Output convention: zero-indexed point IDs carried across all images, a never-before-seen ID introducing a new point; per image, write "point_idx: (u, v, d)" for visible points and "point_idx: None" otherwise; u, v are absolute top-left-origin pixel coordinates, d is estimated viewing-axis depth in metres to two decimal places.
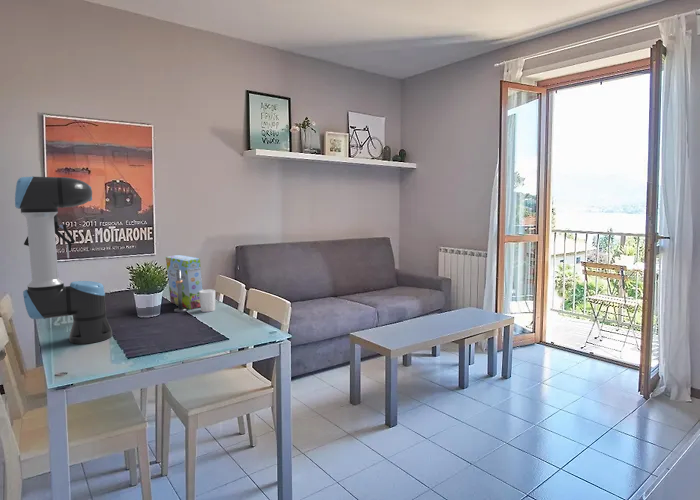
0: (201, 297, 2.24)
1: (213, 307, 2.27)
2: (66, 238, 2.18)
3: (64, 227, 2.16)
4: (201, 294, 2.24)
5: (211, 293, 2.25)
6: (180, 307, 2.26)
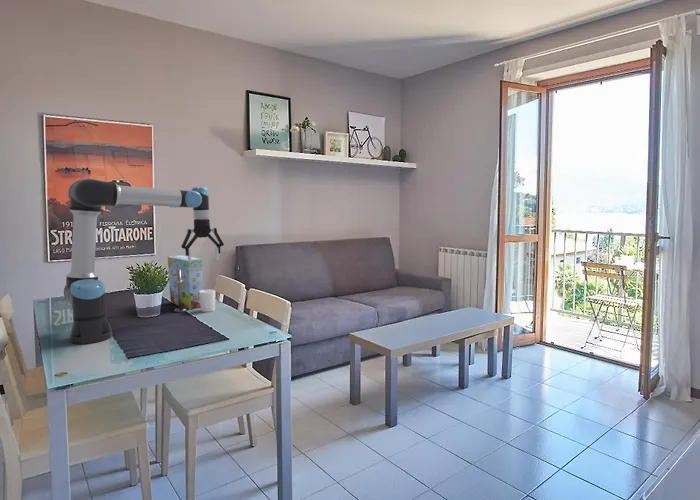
0: (201, 297, 2.24)
1: (213, 307, 2.27)
2: None
3: (215, 231, 2.26)
4: (201, 294, 2.24)
5: (211, 293, 2.25)
6: (180, 307, 2.26)
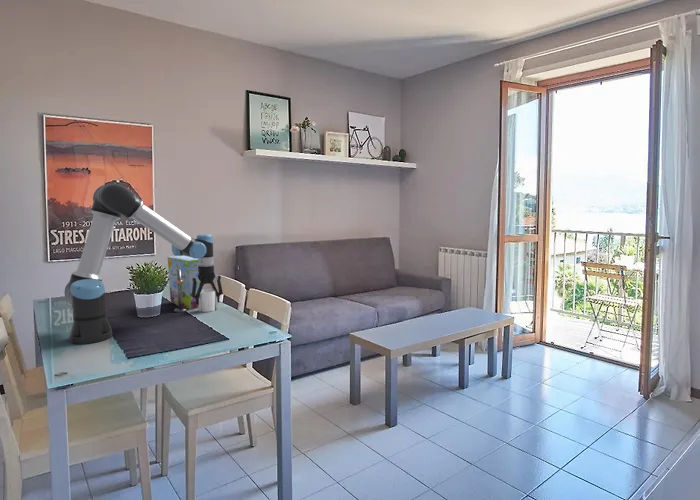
0: (201, 297, 2.24)
1: (213, 307, 2.27)
2: None
3: (219, 278, 2.29)
4: (201, 294, 2.24)
5: (211, 293, 2.25)
6: (180, 307, 2.26)
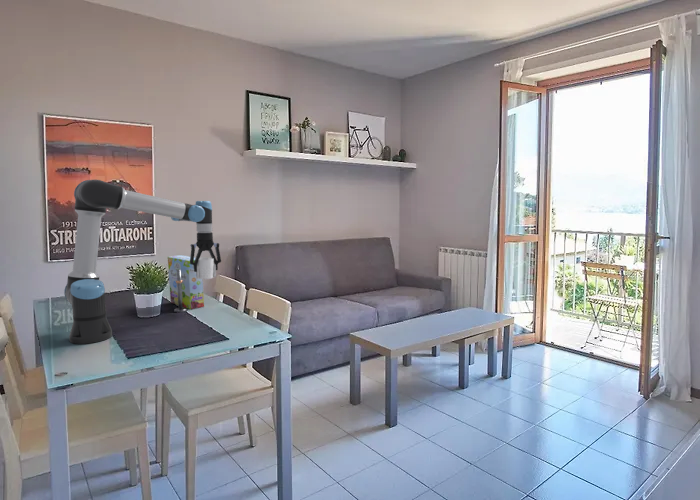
0: (199, 264, 2.22)
1: (211, 275, 2.25)
2: None
3: (217, 246, 2.27)
4: (199, 261, 2.22)
5: (209, 260, 2.23)
6: (180, 307, 2.26)
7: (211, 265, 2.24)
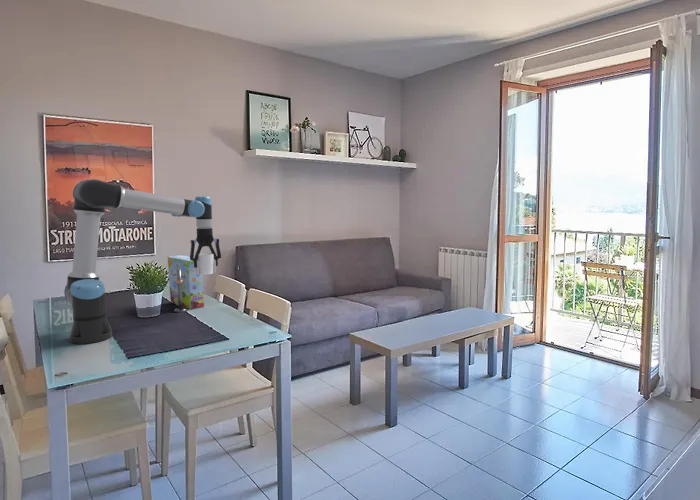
0: (199, 260, 2.22)
1: (211, 270, 2.25)
2: (214, 253, 2.28)
3: (217, 242, 2.26)
4: (199, 256, 2.22)
5: (209, 256, 2.23)
6: (180, 307, 2.26)
7: (211, 261, 2.24)
